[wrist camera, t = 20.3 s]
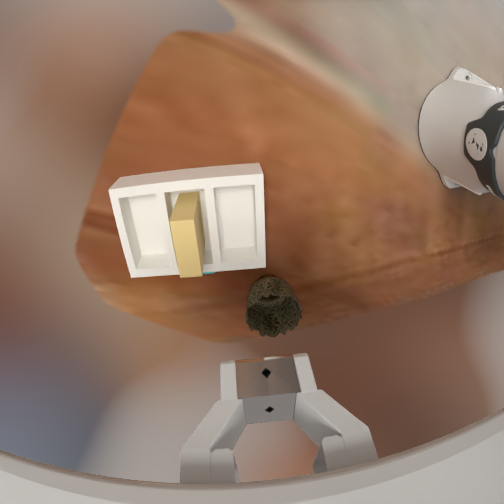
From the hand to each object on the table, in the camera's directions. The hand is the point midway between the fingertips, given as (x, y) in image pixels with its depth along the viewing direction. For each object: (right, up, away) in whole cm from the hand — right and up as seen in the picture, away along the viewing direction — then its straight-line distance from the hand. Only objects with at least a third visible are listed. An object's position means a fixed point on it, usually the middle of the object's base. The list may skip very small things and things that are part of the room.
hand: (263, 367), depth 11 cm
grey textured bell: (+2, 0, +37) cm, 37 cm away
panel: (-8, +8, +30) cm, 32 cm away
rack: (-8, +9, +30) cm, 33 cm away
